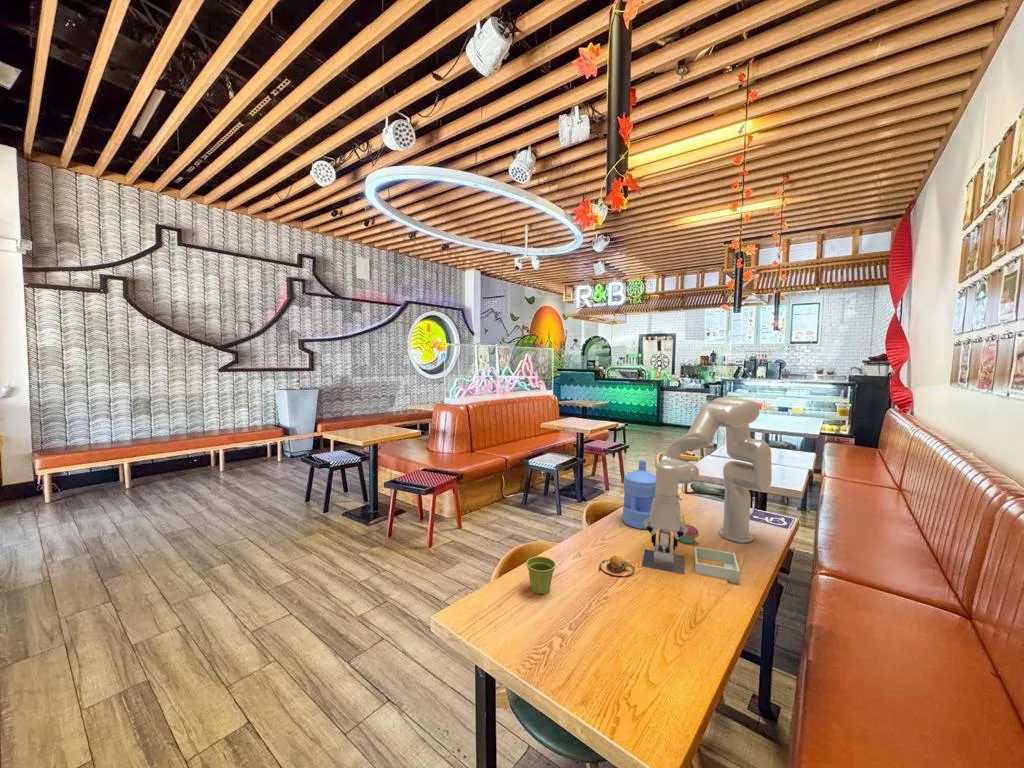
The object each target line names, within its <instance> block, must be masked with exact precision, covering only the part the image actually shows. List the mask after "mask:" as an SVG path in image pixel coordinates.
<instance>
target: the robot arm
mask: <svg viewBox="0 0 1024 768" xmlns="http://www.w3.org/2000/svg"><path fill="white" fill-rule="evenodd" d="M759 414H760V407H759V405H758V403H757V402H756V401H754V400H749V399H742V398H735V397H734V398H733V397H720V396H719V397H716V398H714V399H712V402H708V403H705V404H703V405H702V406H701V408H700V409H699V411H698V413H697V415H696V417H695V419H694V420H693V422H692V424H691V426H690V428H689V430H688V432H686V433H685V434H684V435H682V436H680V437H678V438H677V439H675V440H674V441H672V442H671V443H670V444H669V445H668V446H667V447H666V448H665V449H664V451H663V453H662V455H661V456H660V459H659V461H658V464H656V470H655V475H656V489H655V498H654V499H653V501H652V507H651V516H649V517H648V518H647V519H645V520H644V521H643V523H642V524H643V525H644V526H645V527H646V528H647V529H646V530H647V531H648V532H649V533H650V536H651V539H650V540H651V541H650V542H651V543H652V546H653V547H655V544H657V533H656V532H657V531H658V530H660V529H662V530H668V531H670V532H672V534H673V540H672V541H673V544H672V547H673V549H674V551H676V548H678V546H679V545H678V543H679V540H680V539H679V538H680V537H681V536H682V535H683V534H685V533H686V532H688V528H687V526H686V525H685V524H686V523H685V524H684V523H683V520H681V519H682V518H681V517H682V512H681V504H680V501H682V500H683V497H682V496H680V495H679V484H692V483H694V482H696V480H698V477H699V476H700V471H699V468H698V466H697V465H696V464H694V463H692V462H689V461H685V460H681V459H679V457H680V456H682V455H683V454H684V453H686V452H688V451H691V450H697V449H701V448H706V447H708V446H709V445H710V444H711V442H712V440H713V438H714V436H715V435H716V433H717V431H718V429H719V428H720V427H721V428H725V440H726V441H725V443H726V445H725V446H726V453H727V455H728V457H729V458H731V459H734V460H731V461H728V462H726V463H725V464H724V465H723V469H722V470H723V471H722V474H723V481H724V502H723V503H724V504H723V505H724V506H723V522H722V523H723V525H722V528H720V529H718V535H719V536H720V537H722V538H723V539H725V540H727V541H731V542H734V543H741V544H745V543H746V544H747V543H751V542H752V541H753V540H754V537H753V535H752V534H751V533H749V532H750V517H751V501H752V498H751V492H750V490H749V489H751V490H754V491H758V492H765V491H767V490H769V489H770V487H771V484H772V480H773V479H772V477H773V474H772V468H773V467H772V451H771V447H770V446H769V444H768V443H767V442H766V441H764V440H760V439H757V438H756V439H755V438H752V437H751V435H750V424H751V423H753V422H755V421H756V420H757V418H758V417H759ZM649 522H650V525H651V526H650V525H648V523H649ZM680 526H681V527H682V528H683V529H682V530H681V531H679V530H680ZM651 527H653V528H651ZM678 531H679V532H678Z"/></svg>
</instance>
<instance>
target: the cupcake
mask: <svg viewBox="0 0 1024 768" xmlns="http://www.w3.org/2000/svg"><path fill="white" fill-rule="evenodd" d="M684 515H685V514H683V512H681V517H682V518H681V519H682V522H683V523H684V524H685V525H686V526H687V528H688V532H686V533H685V534H683V535H682V536H681V537H680V538H679V539H678V540H679V541H680V542H683V543H685V544H694V541H695V539H697V538H698V537H699V535H700V533H699V530H698V529H697V528H696V527H695V526H694V525H692V524H686V523H685V522H686V521H685V516H684ZM682 529H683V528H682V527H681V526H680V530H679V531H681V530H682ZM679 531H678V532H679Z"/></svg>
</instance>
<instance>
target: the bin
mask: <svg viewBox="0 0 1024 768" xmlns="http://www.w3.org/2000/svg"><path fill="white" fill-rule="evenodd" d="M693 552H694V553H693V556H694V557H693V558H694V559H693V560H694V570H695V571H694V573H695V574H697V575H702V576H708V577H712V578H713V577H714V578H716V579H717V578H718V579H722V580H726V582H727V583H730V584H735V585H739V584H740V569H739V564H738V560H737V557H736V553H734V552H728V551H723V550H717V549H711V548H706V547H698V546H694V551H693ZM698 558H699V559H705V560H710V561H716V562H722V563H723V566H718V565H712V564H709V563H708V564H707V563H702V562H699V559H698Z"/></svg>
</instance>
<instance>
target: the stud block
mask: <svg viewBox="0 0 1024 768" xmlns="http://www.w3.org/2000/svg"><path fill="white" fill-rule="evenodd" d="M643 552H644V553H643V558H642V563H641V567H643V568H647V569H654V570H659V571H664V572H670V573H674V574H679V575H683V576H684V575H685V574H686V573H685V571H686V570H685V569H686V567H685V565H686V564H685V555H679V554H673V567H670V566H665V565H659V564H654V550H651V549H648V548H647V549H646V548H644V551H643Z"/></svg>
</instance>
